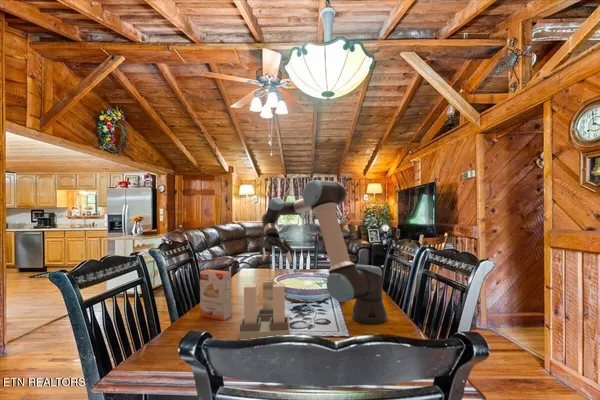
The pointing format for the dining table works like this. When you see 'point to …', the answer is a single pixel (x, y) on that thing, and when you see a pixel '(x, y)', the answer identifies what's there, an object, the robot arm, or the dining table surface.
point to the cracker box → (215, 294)
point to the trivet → (301, 301)
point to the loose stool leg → (268, 294)
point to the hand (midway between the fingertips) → (277, 260)
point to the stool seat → (264, 315)
